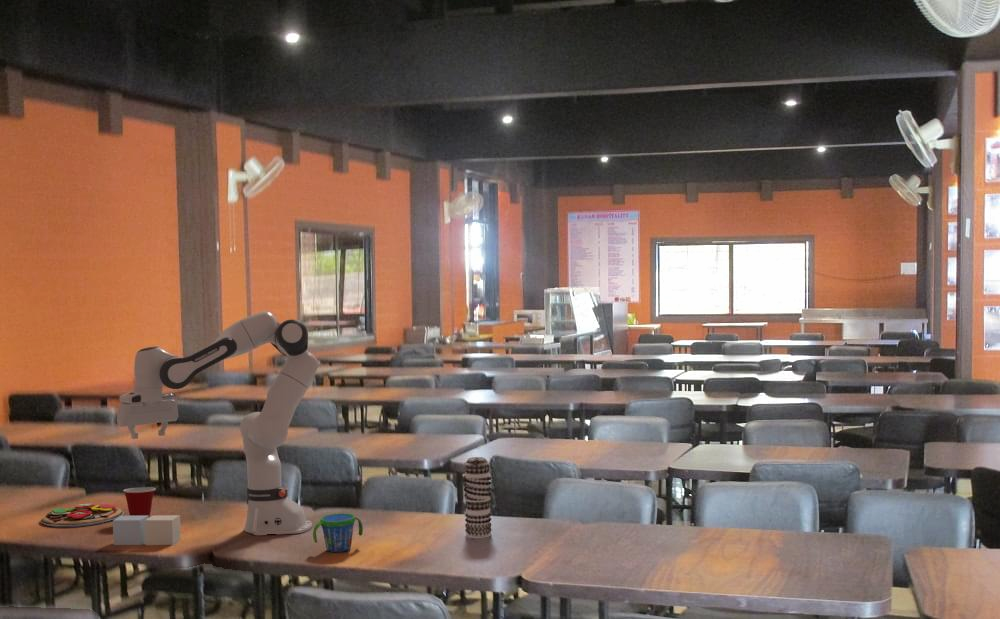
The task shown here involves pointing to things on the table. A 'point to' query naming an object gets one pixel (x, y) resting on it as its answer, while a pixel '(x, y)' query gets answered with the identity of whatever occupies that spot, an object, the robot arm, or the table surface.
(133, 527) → the white block
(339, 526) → the snack cup
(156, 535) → the grey cuboid box
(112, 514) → the toy pizza
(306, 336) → the robot arm
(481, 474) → the decorative candle
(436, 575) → the table surface
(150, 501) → the plastic cup
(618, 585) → the table surface
